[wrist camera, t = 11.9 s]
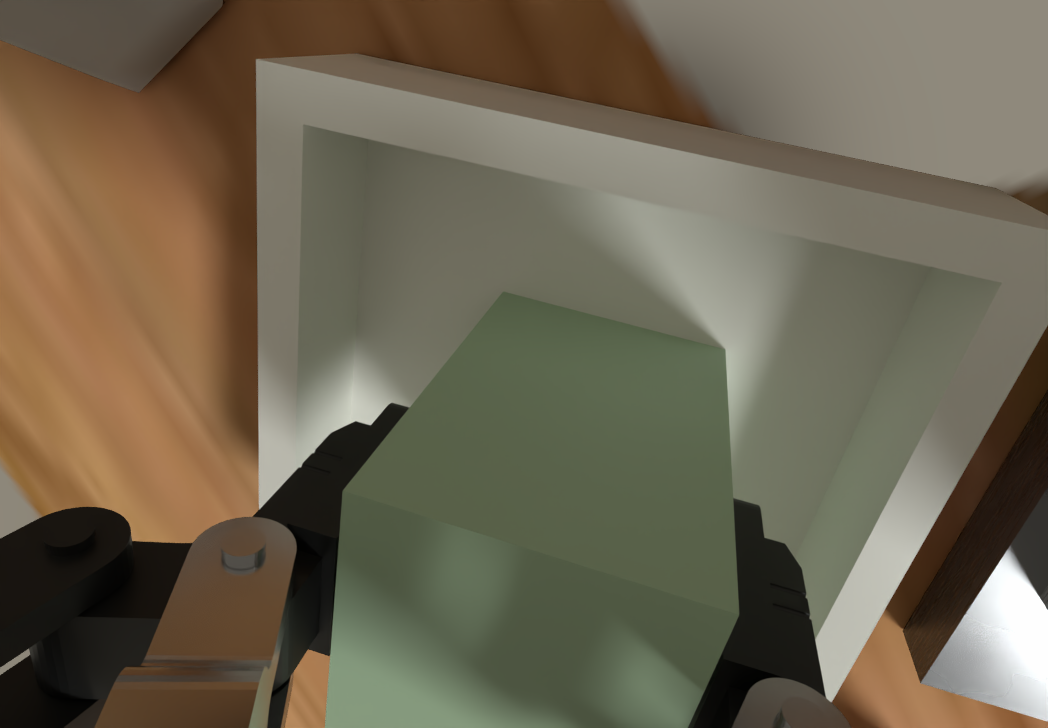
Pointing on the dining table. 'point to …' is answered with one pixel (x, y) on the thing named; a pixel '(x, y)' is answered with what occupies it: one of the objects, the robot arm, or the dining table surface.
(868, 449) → the tray
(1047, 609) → the block
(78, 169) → the dining table surface
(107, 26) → the flask
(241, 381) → the dining table surface
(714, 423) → the sage block
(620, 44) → the dining table surface
